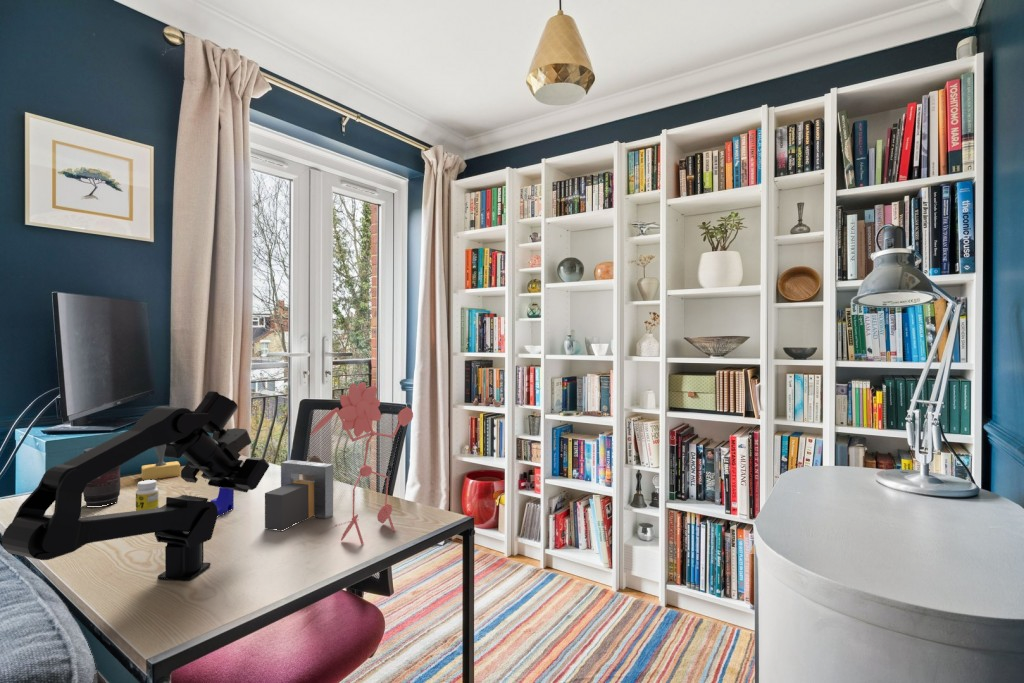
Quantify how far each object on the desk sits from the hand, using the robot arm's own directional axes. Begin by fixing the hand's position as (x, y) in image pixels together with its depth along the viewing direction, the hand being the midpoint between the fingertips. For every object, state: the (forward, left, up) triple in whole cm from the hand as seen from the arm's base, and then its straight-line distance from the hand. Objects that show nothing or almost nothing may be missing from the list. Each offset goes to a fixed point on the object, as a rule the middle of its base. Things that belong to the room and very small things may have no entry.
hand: (247, 490), depth 115 cm
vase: (+43, +4, -12) cm, 45 cm away
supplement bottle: (+15, +35, -12) cm, 40 cm away
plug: (+13, -4, -12) cm, 18 cm away
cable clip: (+15, +19, -12) cm, 27 cm away
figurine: (+8, -22, -12) cm, 27 cm away
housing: (+19, -5, -12) cm, 23 cm away
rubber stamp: (+49, +57, -12) cm, 76 cm away
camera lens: (+22, +53, -12) cm, 59 cm away
